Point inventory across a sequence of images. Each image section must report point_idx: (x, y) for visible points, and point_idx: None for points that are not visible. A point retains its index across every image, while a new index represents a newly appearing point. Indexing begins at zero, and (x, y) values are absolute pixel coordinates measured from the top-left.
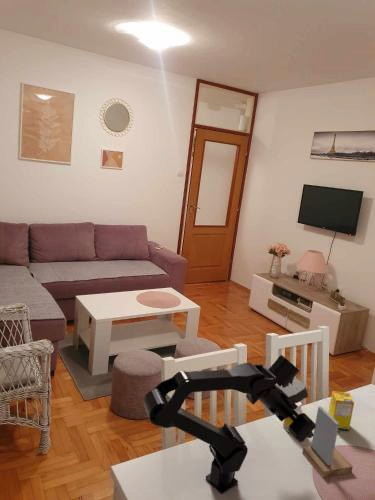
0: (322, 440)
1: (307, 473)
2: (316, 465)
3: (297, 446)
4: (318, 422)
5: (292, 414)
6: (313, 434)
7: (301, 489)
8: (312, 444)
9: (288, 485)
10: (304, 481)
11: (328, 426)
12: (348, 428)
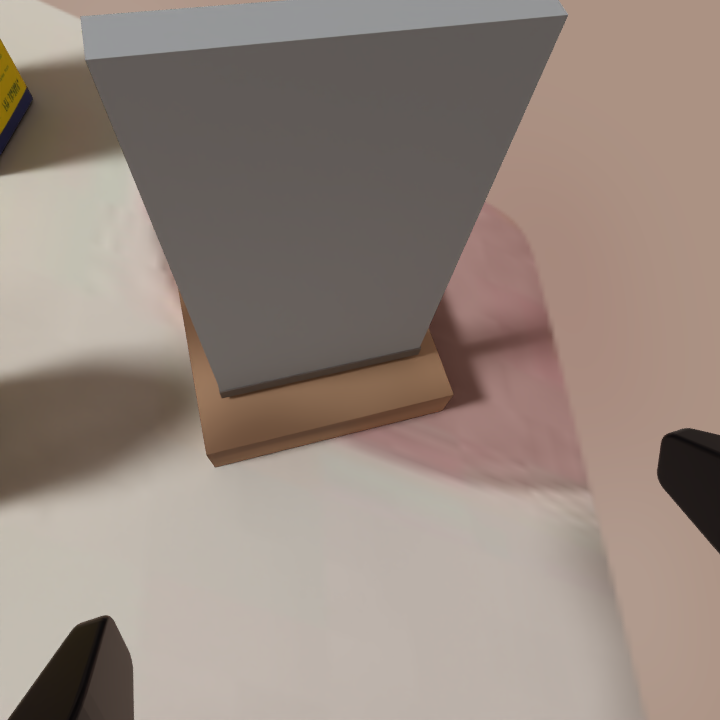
0: (331, 300)
1: (415, 500)
2: (377, 418)
3: (139, 479)
4: (215, 235)
5: (108, 659)
6: (703, 431)
7: (569, 599)
8: (227, 380)
9: (553, 696)
10: (492, 549)
11: (401, 153)
12: (23, 86)
